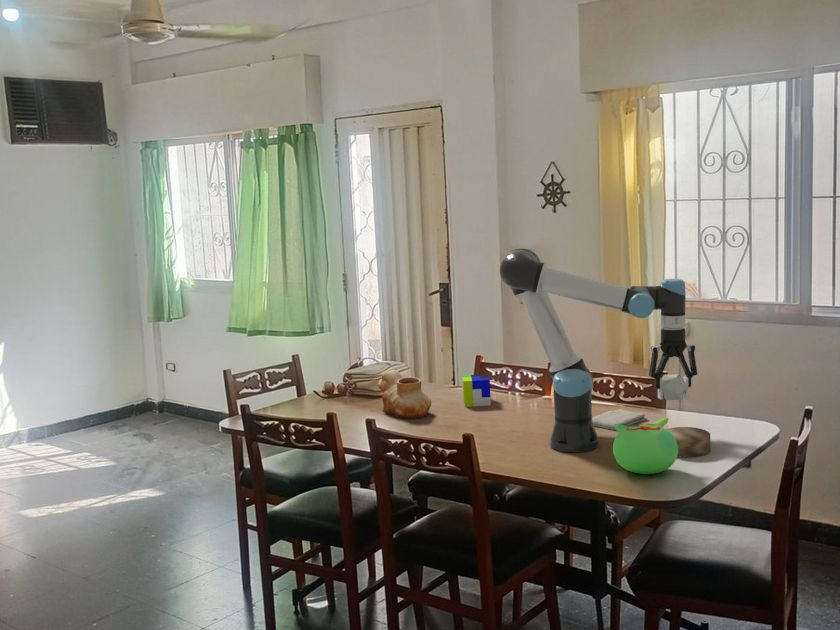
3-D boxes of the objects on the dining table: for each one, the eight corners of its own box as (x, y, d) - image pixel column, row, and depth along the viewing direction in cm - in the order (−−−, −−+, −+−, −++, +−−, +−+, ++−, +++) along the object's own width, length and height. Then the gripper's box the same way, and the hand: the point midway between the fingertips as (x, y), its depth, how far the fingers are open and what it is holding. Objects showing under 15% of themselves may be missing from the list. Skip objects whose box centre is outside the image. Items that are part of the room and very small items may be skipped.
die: (682, 405, 287) (695, 378, 289) (658, 392, 287) (670, 365, 289) (674, 408, 295) (686, 382, 297) (650, 395, 295) (663, 369, 297)
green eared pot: (615, 481, 254) (613, 430, 251) (612, 462, 270) (610, 414, 268) (681, 481, 251) (680, 429, 248) (674, 461, 267) (673, 413, 265)
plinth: (668, 459, 270) (668, 443, 269) (652, 444, 284) (652, 429, 284) (718, 455, 270) (718, 438, 270) (699, 440, 285) (699, 425, 284)
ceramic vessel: (401, 402, 358) (398, 365, 355) (439, 414, 336) (437, 375, 334) (371, 409, 350) (368, 371, 348) (408, 422, 328) (405, 381, 326)
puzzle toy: (491, 405, 344) (489, 379, 343) (464, 407, 345) (463, 381, 343) (489, 399, 354) (488, 373, 353) (463, 400, 354) (462, 375, 353)
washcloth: (647, 420, 313) (647, 411, 313) (617, 432, 301) (616, 423, 300) (618, 415, 322) (618, 406, 321) (587, 426, 310) (587, 418, 309)
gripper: (644, 331, 285) (645, 402, 288) (709, 328, 286) (708, 398, 289) (637, 327, 292) (638, 396, 296) (700, 324, 293) (700, 393, 297)
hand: (673, 397), depth 293 cm, fingers closed on die, 8 cm apart
